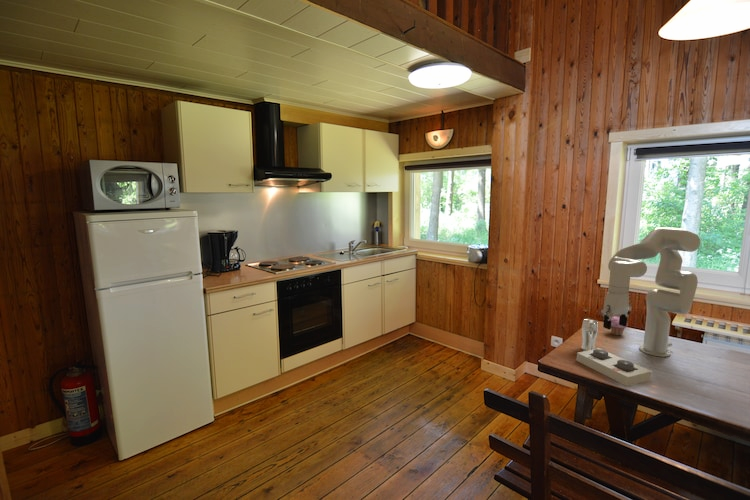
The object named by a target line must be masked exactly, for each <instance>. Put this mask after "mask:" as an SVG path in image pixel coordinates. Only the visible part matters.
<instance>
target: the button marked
mask: <svg viewBox="0 0 750 500" xmlns="http://www.w3.org/2000/svg"><path fill="white" fill-rule="evenodd" d="M626 360H627V359H625V360H618V361H617V368H619V369H621V370H623V371H625V372H631V371H633V369H634V364H635V363H634V364H633V362H632V361H629V360H627V361H626Z"/></svg>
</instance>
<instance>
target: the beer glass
mask: <svg viewBox="0 0 750 500" xmlns="http://www.w3.org/2000/svg"><path fill="white" fill-rule="evenodd" d="M598 331H599V321H597V320H595V319H592V318H584V319H583V321H582V325H581V334H582V335H581V337H582V343H581V346H580V347H581V348H580V349H581V350H583V351H588V350H593V349H596V346H595V343H596V340H597V335H598Z"/></svg>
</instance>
